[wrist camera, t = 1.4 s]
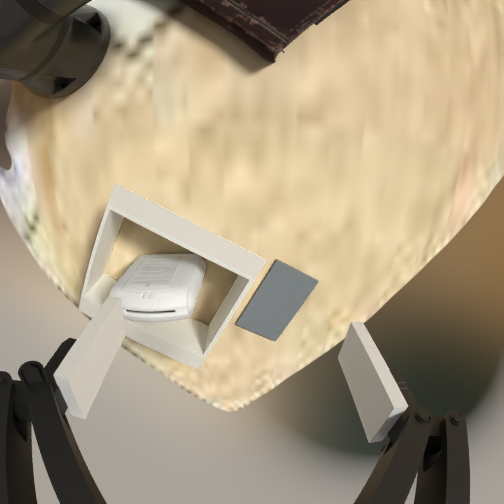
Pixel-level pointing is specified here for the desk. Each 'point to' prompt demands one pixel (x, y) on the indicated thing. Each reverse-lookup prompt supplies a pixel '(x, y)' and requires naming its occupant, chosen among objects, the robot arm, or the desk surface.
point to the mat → (276, 300)
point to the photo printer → (160, 287)
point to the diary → (266, 19)
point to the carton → (188, 236)
